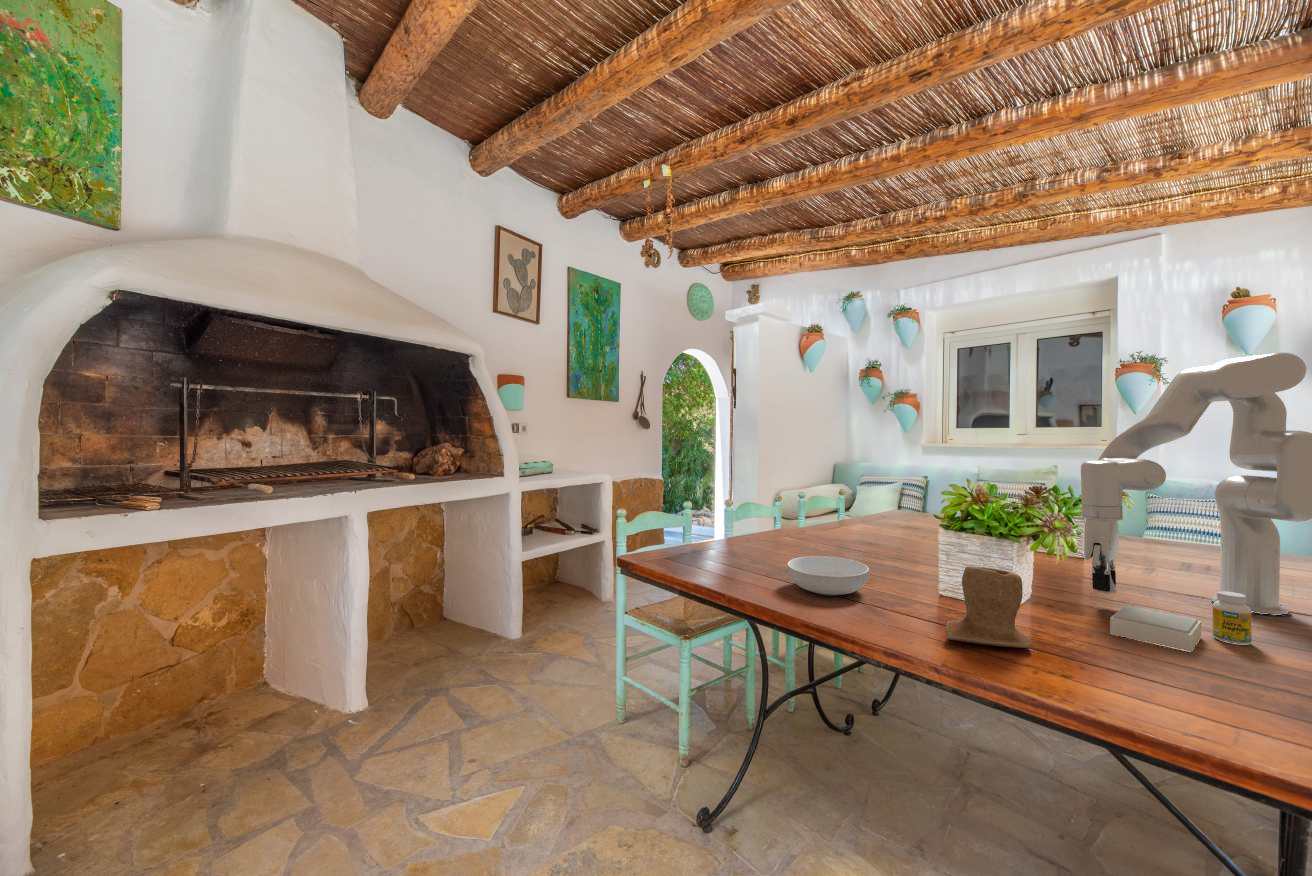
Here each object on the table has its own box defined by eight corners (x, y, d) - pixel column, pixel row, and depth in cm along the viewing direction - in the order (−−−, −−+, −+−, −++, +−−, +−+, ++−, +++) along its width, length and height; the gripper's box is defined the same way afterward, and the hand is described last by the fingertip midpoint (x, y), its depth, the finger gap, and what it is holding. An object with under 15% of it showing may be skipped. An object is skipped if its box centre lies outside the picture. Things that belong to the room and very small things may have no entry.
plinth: (1124, 621, 119) (1124, 604, 118) (1201, 638, 109) (1201, 618, 109) (1110, 634, 111) (1110, 615, 111) (1191, 653, 102) (1191, 632, 102)
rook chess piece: (1092, 587, 131) (1091, 555, 131) (1116, 590, 128) (1115, 557, 128) (1092, 592, 128) (1091, 559, 128) (1117, 595, 125) (1115, 561, 125)
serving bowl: (771, 585, 148) (771, 560, 148) (829, 576, 157) (829, 553, 157) (824, 607, 129) (824, 579, 129) (887, 596, 138) (887, 569, 138)
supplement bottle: (1244, 639, 109) (1244, 592, 109) (1256, 648, 104) (1257, 599, 104) (1207, 634, 111) (1208, 588, 111) (1218, 643, 107) (1219, 595, 107)
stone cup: (1018, 635, 111) (1018, 563, 111) (1037, 657, 100) (1038, 578, 100) (937, 626, 116) (937, 557, 116) (946, 646, 105) (947, 571, 105)
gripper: (1092, 506, 136) (1094, 578, 136) (1071, 515, 126) (1074, 592, 126) (1131, 509, 130) (1133, 583, 130) (1113, 518, 120) (1115, 599, 120)
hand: (1104, 587), depth 128 cm, fingers closed on rook chess piece, 4 cm apart
